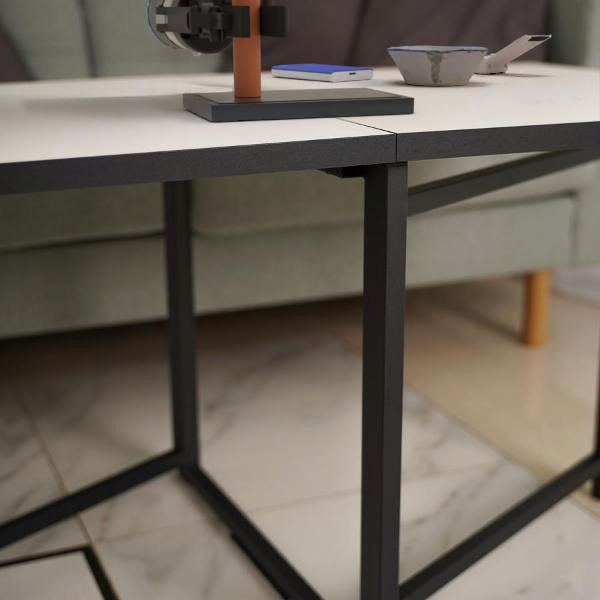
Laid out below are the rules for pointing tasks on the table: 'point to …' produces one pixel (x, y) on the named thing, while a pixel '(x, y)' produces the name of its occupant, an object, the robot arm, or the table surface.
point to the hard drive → (322, 72)
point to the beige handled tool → (508, 54)
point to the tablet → (297, 104)
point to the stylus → (248, 55)
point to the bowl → (437, 64)
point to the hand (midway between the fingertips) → (263, 21)
